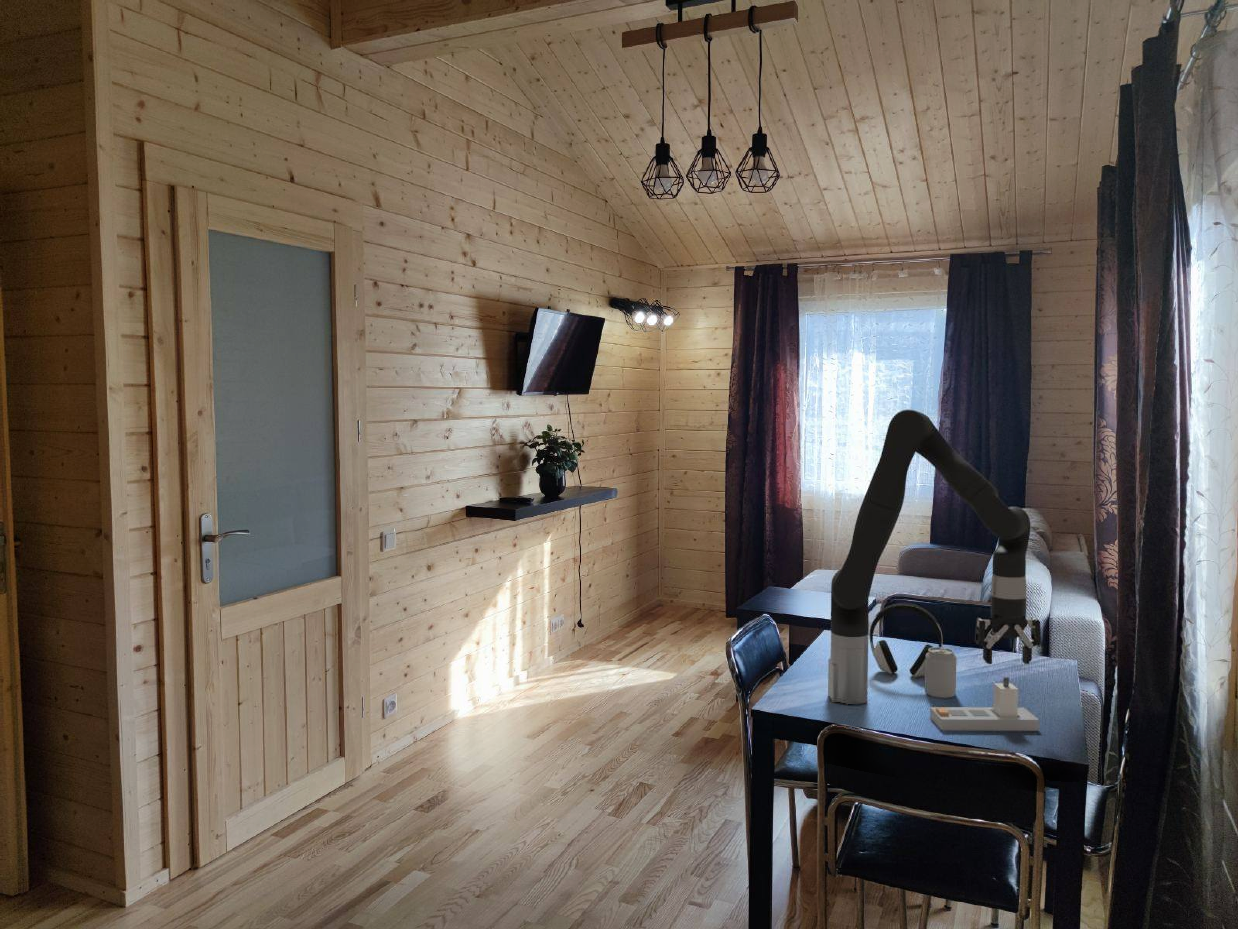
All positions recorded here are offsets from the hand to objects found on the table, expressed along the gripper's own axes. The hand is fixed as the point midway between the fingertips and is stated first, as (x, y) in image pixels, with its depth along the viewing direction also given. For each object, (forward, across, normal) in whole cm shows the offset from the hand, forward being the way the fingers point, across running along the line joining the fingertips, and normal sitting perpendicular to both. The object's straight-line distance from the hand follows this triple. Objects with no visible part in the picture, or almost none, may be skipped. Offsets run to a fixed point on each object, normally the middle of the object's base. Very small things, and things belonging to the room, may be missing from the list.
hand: (1007, 663), depth 208 cm
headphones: (+15, -12, +38) cm, 42 cm away
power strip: (+15, -5, 0) cm, 16 cm away
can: (+15, -8, +21) cm, 27 cm away
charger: (+14, 0, 0) cm, 14 cm away
